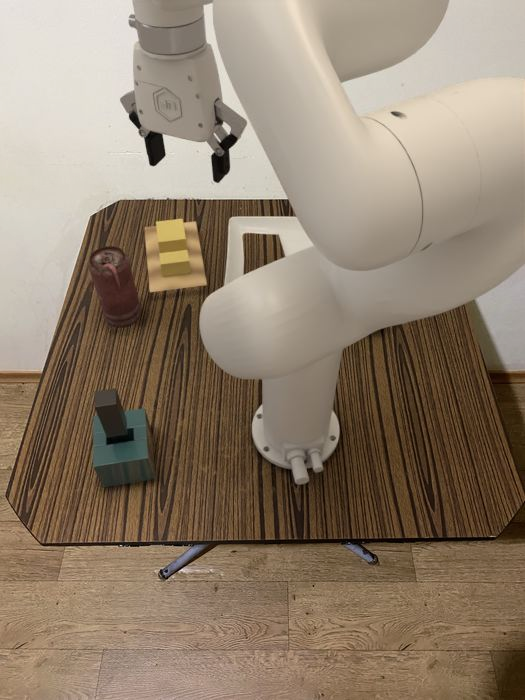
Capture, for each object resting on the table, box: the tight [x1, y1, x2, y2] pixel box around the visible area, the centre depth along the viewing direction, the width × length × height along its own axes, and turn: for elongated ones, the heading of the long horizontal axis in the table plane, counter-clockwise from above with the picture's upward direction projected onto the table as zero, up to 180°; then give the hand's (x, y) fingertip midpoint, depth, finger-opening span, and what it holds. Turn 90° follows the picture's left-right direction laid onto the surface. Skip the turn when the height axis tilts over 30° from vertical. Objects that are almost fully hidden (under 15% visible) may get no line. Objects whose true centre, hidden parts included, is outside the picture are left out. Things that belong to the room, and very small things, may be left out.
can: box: [87, 245, 142, 329], centre depth 92 cm, size 6×6×14 cm
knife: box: [93, 387, 131, 444], centre depth 75 cm, size 2×3×15 cm
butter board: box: [144, 221, 208, 293], centre depth 106 cm, size 18×10×2 cm, turn 10°
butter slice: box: [159, 250, 191, 277], centre depth 102 cm, size 3×5×3 cm, turn 100°
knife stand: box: [92, 407, 156, 489], centre depth 78 cm, size 8×7×6 cm
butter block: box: [155, 218, 187, 253], centre depth 107 cm, size 6×5×3 cm
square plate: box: [223, 215, 314, 286], centre depth 102 cm, size 27×27×4 cm
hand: (189, 169), depth 77 cm, fingers open, 9 cm apart
